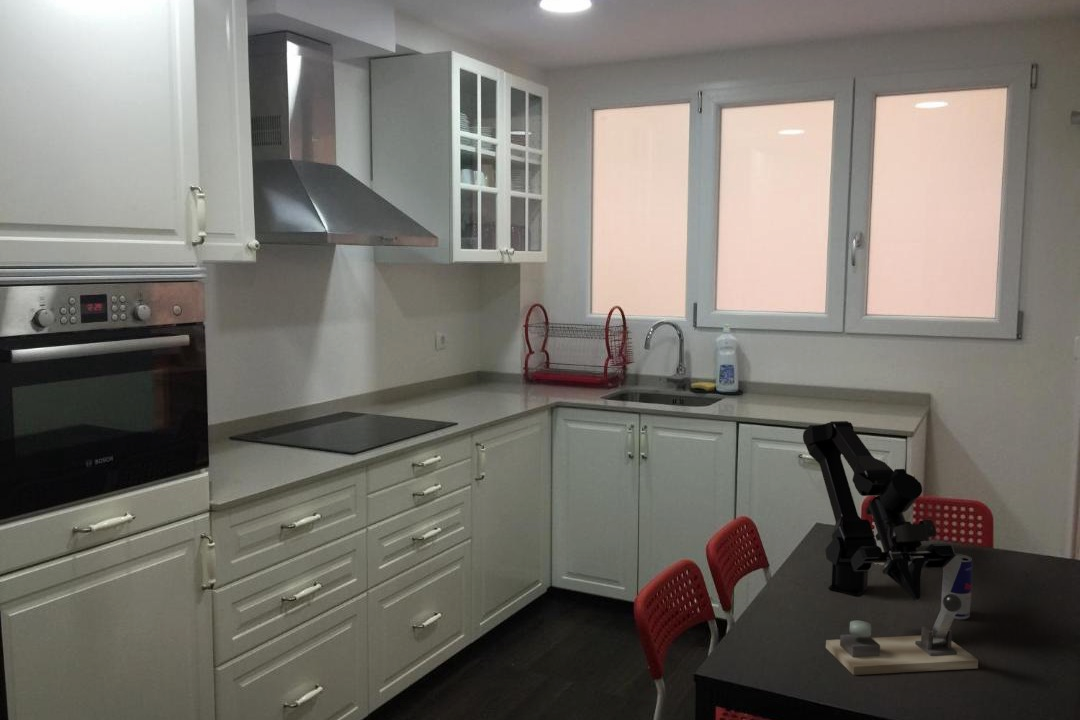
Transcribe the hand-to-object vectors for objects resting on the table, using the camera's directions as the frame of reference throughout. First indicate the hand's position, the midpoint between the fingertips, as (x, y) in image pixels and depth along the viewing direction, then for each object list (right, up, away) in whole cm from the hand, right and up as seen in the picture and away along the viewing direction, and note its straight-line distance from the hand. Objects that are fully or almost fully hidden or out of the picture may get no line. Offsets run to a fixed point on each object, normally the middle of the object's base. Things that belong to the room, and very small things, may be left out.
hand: (917, 599), depth 169 cm
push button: (-13, -4, -7) cm, 16 cm away
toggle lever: (+1, -6, -6) cm, 8 cm away
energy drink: (+13, -7, +14) cm, 21 cm away
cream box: (+14, -3, +49) cm, 51 cm away
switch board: (-6, -9, -6) cm, 12 cm away
